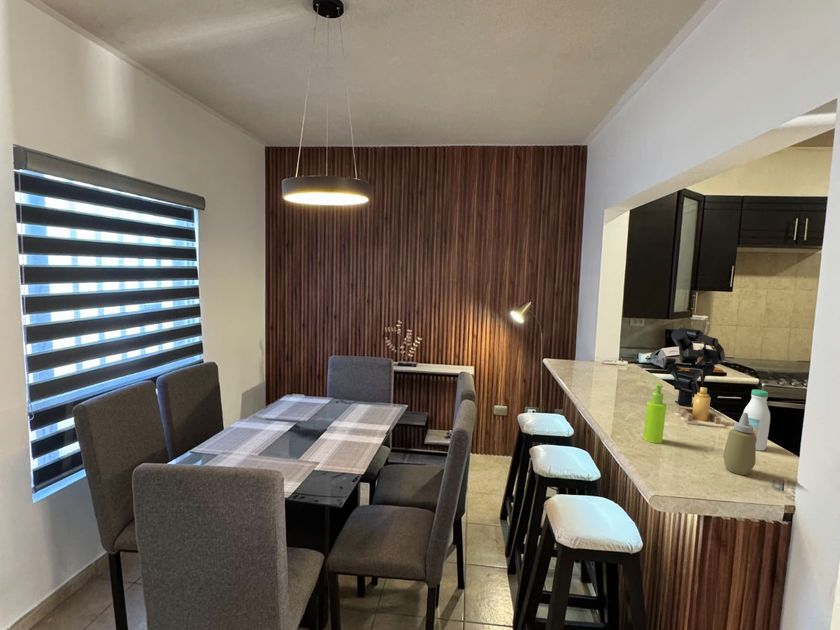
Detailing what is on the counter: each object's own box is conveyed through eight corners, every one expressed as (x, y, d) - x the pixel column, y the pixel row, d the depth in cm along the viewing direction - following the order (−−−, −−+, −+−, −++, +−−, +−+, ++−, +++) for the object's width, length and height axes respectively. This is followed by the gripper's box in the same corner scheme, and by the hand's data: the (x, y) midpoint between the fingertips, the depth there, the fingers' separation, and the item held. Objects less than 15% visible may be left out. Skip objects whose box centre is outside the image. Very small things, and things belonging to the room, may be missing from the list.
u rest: (674, 413, 194) (675, 406, 194) (710, 417, 192) (711, 410, 192) (687, 424, 181) (688, 416, 180) (726, 428, 178) (727, 420, 178)
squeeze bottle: (714, 465, 142) (722, 408, 140) (739, 465, 142) (747, 409, 140) (734, 477, 134) (743, 417, 132) (760, 477, 134) (769, 418, 132)
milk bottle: (756, 443, 163) (764, 388, 161) (771, 452, 156) (779, 394, 153) (733, 441, 164) (741, 387, 162) (747, 450, 156) (755, 392, 154)
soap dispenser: (659, 437, 163) (666, 382, 161) (663, 444, 156) (670, 387, 154) (641, 434, 165) (648, 380, 163) (644, 441, 158) (651, 384, 156)
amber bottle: (688, 416, 189) (692, 385, 187) (700, 416, 190) (704, 386, 188) (698, 421, 183) (702, 389, 182) (710, 421, 184) (715, 389, 183)
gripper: (667, 339, 199) (670, 369, 189) (716, 344, 193) (721, 375, 184) (661, 354, 207) (663, 383, 198) (708, 359, 202) (713, 389, 192)
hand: (690, 382), depth 193 cm, fingers open, 9 cm apart
